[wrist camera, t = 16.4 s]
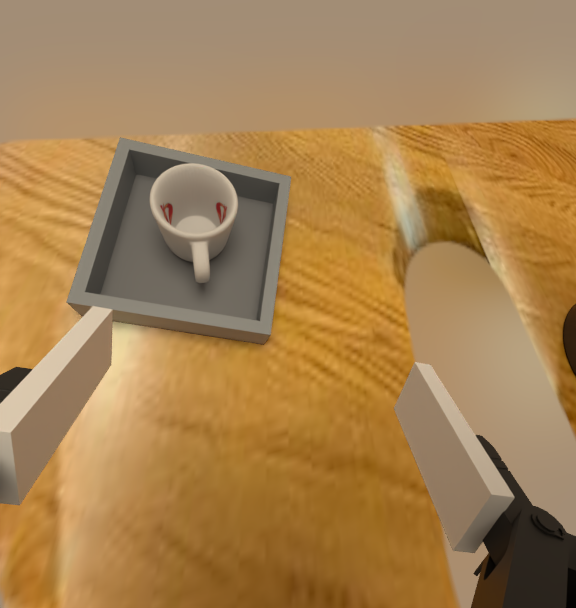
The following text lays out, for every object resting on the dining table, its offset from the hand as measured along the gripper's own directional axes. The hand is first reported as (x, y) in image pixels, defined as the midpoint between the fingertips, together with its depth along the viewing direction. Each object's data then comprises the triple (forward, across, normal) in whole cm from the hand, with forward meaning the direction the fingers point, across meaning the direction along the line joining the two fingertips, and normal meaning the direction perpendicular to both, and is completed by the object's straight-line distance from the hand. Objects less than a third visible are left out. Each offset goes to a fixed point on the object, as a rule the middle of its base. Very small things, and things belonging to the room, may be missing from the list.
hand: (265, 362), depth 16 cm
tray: (+27, -8, -6) cm, 29 cm away
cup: (+27, -7, -6) cm, 28 cm away
